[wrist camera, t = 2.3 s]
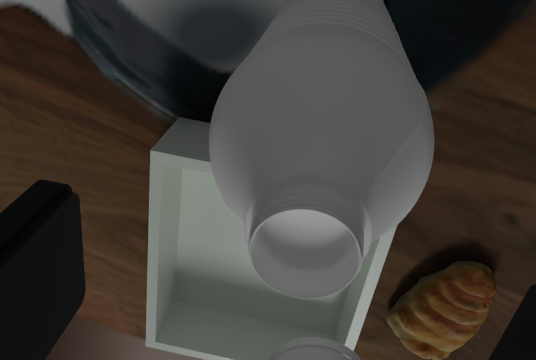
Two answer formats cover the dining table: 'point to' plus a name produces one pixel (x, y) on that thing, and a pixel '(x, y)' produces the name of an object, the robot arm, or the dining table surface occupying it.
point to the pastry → (443, 309)
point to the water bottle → (321, 149)
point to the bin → (227, 268)
